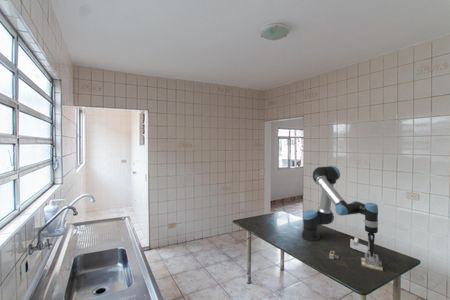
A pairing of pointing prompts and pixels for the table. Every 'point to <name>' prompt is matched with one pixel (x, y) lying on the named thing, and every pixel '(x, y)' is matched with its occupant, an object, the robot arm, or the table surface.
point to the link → (372, 263)
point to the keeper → (371, 266)
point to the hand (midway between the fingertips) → (371, 256)
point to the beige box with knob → (331, 254)
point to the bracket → (358, 245)
